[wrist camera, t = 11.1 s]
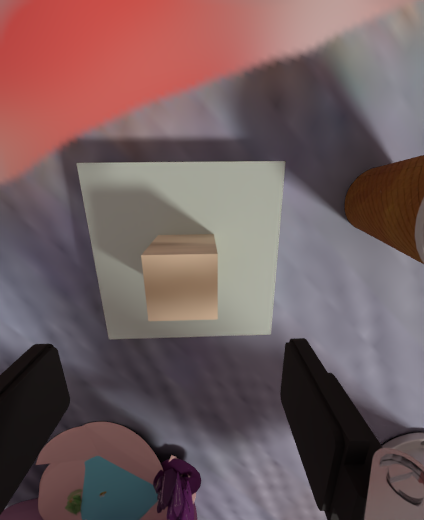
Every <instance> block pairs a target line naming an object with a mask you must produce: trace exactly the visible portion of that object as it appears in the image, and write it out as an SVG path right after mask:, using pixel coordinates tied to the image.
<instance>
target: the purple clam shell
mask: <svg viewBox="0 0 424 520" xmlns="http://www.w3.org/2000/svg"><path fill="white" fill-rule="evenodd" d="M41 464H50V465H49V466H48V467H47V468H46V470H45V471H44V473H43V475H42V477H41V480H40V485H39V498H36V499H31V500H27V501H23V502H20V503H17V504H14V505H12V506H10V507H8V508H6V509H5V510H3V512H2V513H1V515H0V520H197V512H196V507H195V503H194V501H195V497H196V492H197V490H198V489H199V487H200V484H201V478H200V474H199V472H198V471H197V470H196V469H195V468H194V467H193V466H191V465H190V464H189V463H187V462H185V461H183V460H180V459H178V458H177V457H176V456H173V455H171V458H170V459H168V460H166V461H164V462H162V463H160V462H159V460H158V458H157V456H156V455H155V453H154V452H153V450H152V449H151V448H150V446H149V445H148V444H147V443H146V442H145V441H144V440H143V439H142V438H141V437H140V436H139V435H137V434H136V433H134V432H133V431H131V430H130V429H128V428H126V427H124V426H121V425H118V424H115V423H111V422H92V423H88V424H85V425H84V426H80V427H75V428H72V429H69V430H66V431H64V432H62V433H60V434H59V435H57V436H56V437H54V438H53V439H52V440H51V441H49V442H48V443H47V444H46V446H45V447H44V448H43V449H42V451H41V452H40V454H39V456H38V459H37V462H36V465H41Z"/></svg>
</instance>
